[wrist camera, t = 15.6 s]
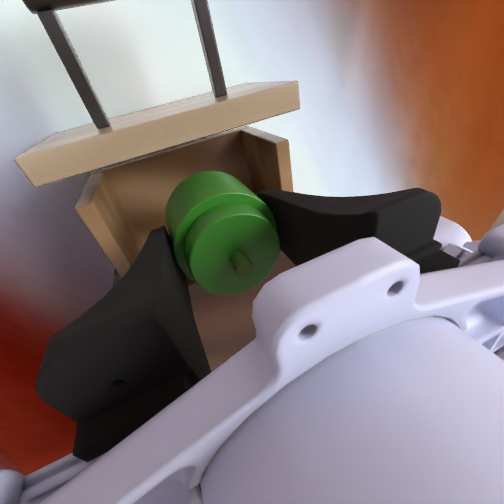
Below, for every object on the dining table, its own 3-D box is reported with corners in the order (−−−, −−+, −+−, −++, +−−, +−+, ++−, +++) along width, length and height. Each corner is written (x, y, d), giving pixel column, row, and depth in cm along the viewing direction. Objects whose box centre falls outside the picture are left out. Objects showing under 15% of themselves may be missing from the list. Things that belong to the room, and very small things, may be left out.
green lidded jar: (258, 235, 15) (303, 287, 11) (184, 264, 14) (204, 332, 10) (241, 158, 12) (294, 192, 8) (148, 188, 11) (158, 242, 7)
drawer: (-25, 5, 11) (-159, -65, 6) (227, -36, 14) (286, -111, 9) (147, 282, 22) (152, 343, 17) (272, 233, 25) (311, 272, 19)
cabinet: (117, 241, 20) (109, 317, 14) (267, 188, 23) (323, 229, 16) (178, 337, 28) (192, 414, 22) (284, 290, 31) (326, 345, 24)
